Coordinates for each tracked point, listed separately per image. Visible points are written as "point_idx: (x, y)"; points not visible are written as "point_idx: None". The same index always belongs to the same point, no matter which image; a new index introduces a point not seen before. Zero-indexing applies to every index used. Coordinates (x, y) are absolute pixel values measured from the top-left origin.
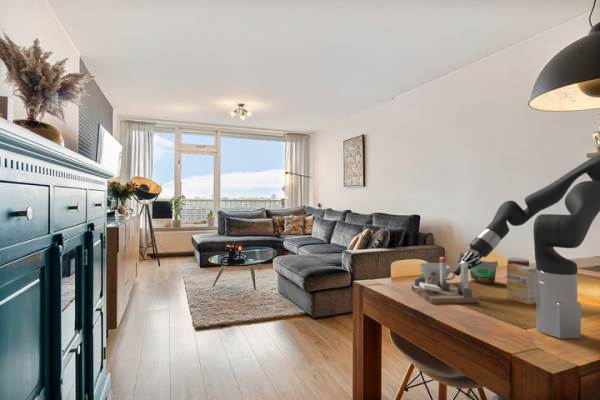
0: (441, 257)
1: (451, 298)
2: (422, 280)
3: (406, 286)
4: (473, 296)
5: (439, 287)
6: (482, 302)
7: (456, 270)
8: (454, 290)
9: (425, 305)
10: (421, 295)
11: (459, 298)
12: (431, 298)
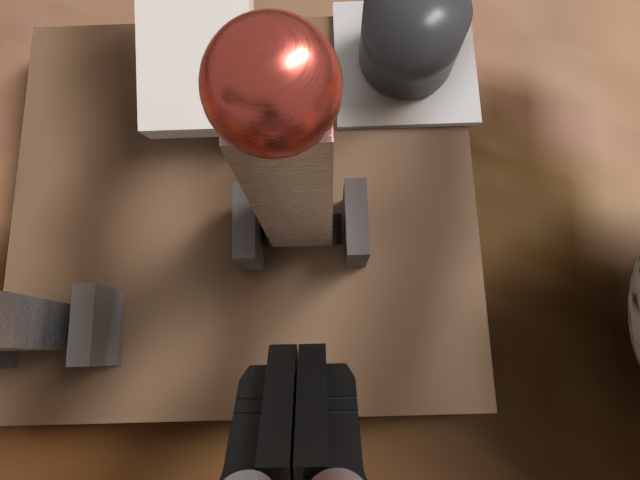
0: (255, 17)
1: (18, 184)
2: (361, 29)
3: (549, 29)
4: (19, 402)
5: (162, 128)
6: (27, 475)
7: (267, 375)
8: (237, 319)
9: (32, 5)
10: None
11: (10, 253)
12: (33, 29)
